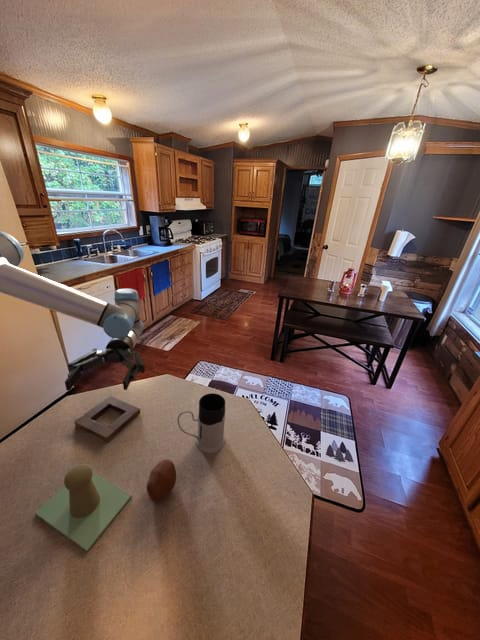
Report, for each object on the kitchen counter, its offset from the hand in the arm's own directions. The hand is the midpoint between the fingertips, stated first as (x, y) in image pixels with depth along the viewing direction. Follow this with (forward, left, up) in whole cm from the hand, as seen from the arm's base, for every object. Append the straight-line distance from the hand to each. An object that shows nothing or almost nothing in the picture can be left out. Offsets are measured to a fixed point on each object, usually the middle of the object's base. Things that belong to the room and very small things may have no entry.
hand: (96, 386), depth 64 cm
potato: (+21, -2, -22) cm, 31 cm away
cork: (+8, -13, -22) cm, 27 cm away
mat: (+8, -13, -22) cm, 27 cm away
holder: (-8, +8, -22) cm, 25 cm away
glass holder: (+23, +14, -22) cm, 35 cm away
